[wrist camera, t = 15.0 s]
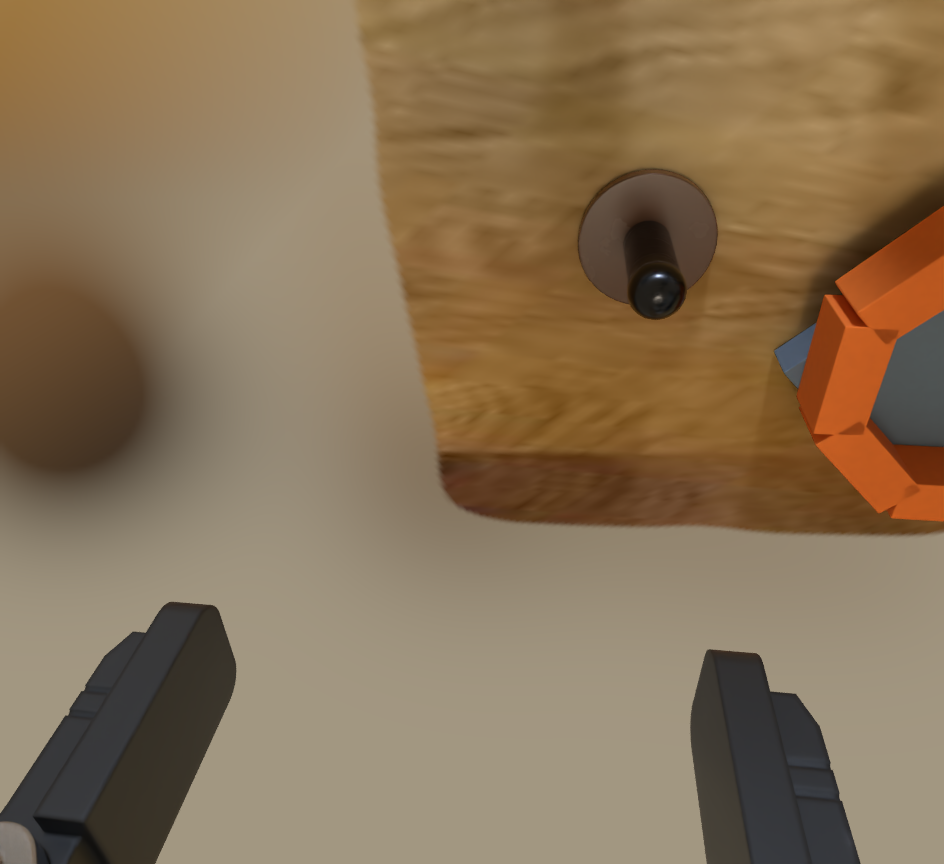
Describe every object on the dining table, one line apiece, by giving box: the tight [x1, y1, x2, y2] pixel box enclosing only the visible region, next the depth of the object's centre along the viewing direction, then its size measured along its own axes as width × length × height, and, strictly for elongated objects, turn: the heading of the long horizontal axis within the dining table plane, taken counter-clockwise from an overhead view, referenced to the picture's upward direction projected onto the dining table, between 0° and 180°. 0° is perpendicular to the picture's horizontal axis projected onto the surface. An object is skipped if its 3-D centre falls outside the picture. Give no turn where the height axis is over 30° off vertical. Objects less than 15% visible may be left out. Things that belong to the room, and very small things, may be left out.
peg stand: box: [578, 169, 718, 320], centre depth 34 cm, size 7×7×8 cm
